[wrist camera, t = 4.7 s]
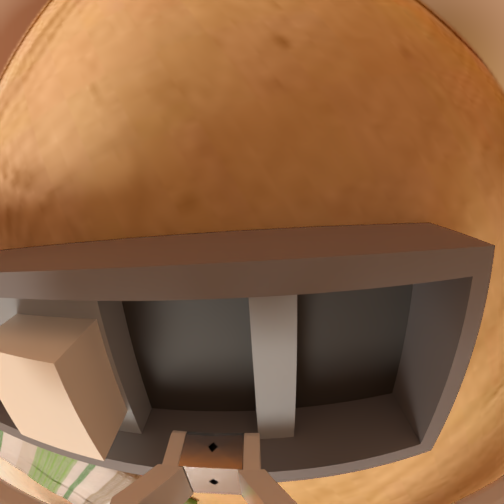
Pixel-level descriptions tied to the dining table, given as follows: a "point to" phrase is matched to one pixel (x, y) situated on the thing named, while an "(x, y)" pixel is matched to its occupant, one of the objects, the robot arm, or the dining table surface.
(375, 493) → the dining table surface
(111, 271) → the box
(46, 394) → the cream block
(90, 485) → the dish towel
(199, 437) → the robot arm
